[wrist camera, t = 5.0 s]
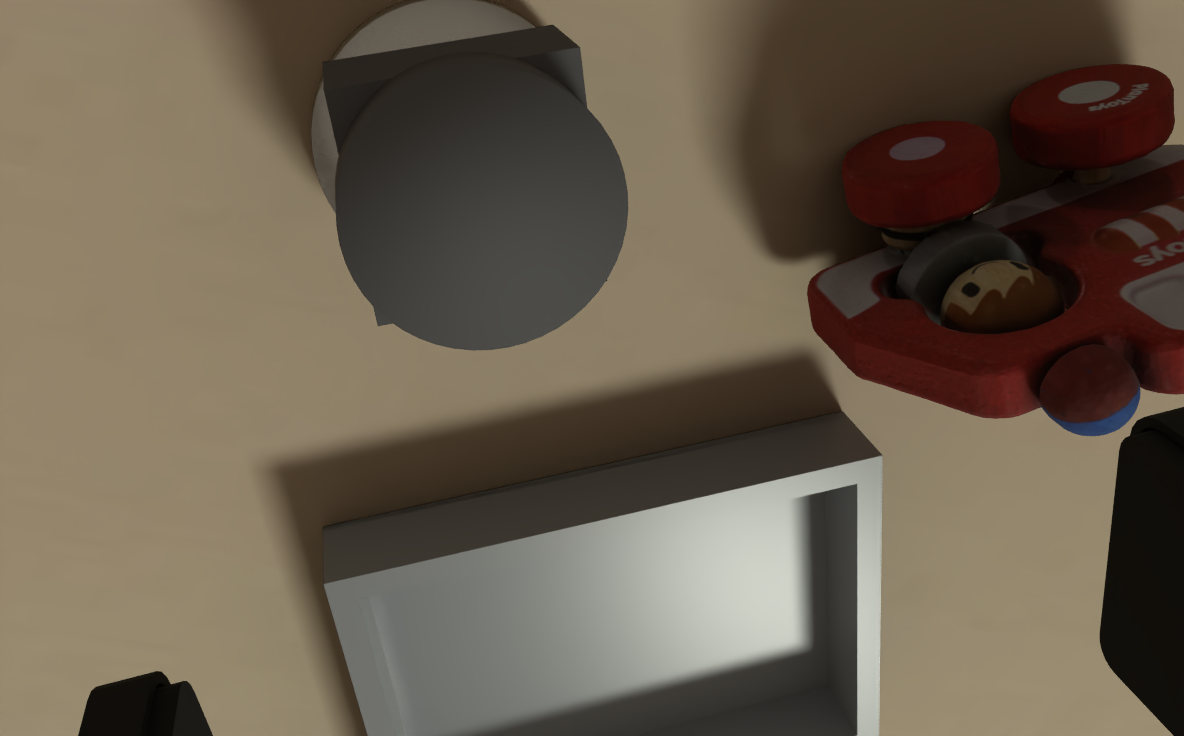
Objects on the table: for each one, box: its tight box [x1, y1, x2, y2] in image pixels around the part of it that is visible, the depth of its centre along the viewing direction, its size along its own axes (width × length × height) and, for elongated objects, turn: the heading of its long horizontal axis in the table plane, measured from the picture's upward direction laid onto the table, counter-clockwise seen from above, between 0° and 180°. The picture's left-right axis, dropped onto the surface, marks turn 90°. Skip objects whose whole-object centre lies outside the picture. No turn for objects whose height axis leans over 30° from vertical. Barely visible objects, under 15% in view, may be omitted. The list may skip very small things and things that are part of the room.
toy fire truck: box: [807, 64, 1184, 436], centre depth 28 cm, size 7×12×10 cm, turn 106°
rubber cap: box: [323, 25, 628, 350], centre depth 24 cm, size 6×6×5 cm
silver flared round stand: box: [311, 0, 536, 213], centre depth 26 cm, size 7×7×5 cm
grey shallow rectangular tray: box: [323, 412, 883, 736], centre depth 35 cm, size 17×12×3 cm
